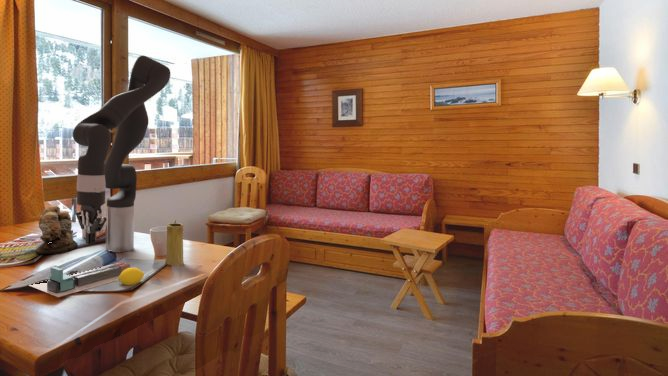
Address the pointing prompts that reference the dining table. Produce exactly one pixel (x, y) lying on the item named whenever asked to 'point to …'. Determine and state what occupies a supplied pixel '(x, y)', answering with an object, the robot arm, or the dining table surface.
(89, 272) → the jaw
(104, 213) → the cracker box
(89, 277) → the tongs base
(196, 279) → the dining table surface
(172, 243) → the green pillar candle
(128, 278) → the lemon
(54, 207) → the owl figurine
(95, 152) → the robot arm
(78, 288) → the mat
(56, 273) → the lock collar
